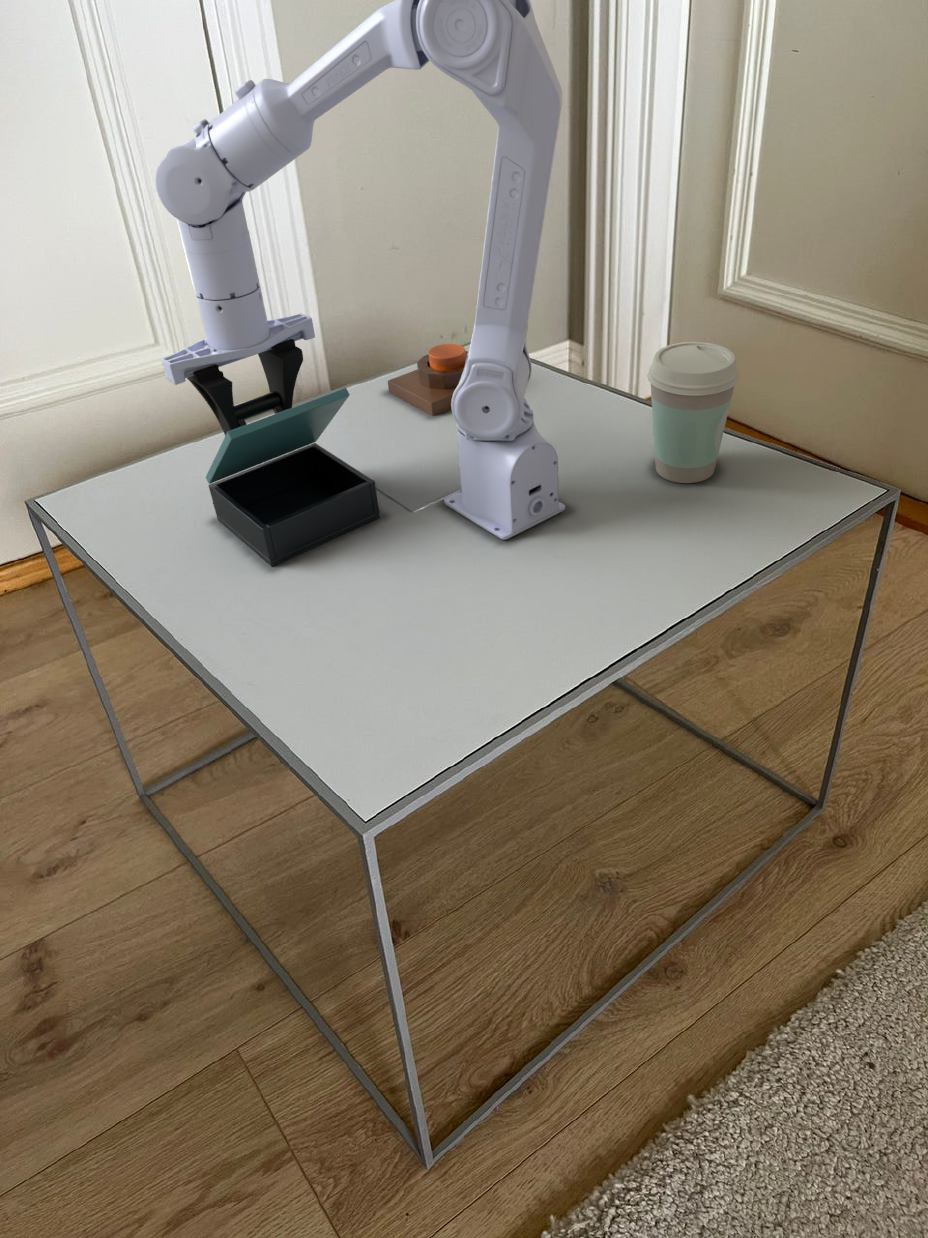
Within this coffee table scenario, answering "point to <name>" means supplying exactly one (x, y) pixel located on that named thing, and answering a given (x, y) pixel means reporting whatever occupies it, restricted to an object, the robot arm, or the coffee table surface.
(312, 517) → the open-top box
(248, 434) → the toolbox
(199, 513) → the coffee table surface
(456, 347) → the button
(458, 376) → the block
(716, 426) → the coffee cup
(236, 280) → the robot arm
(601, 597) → the coffee table surface
